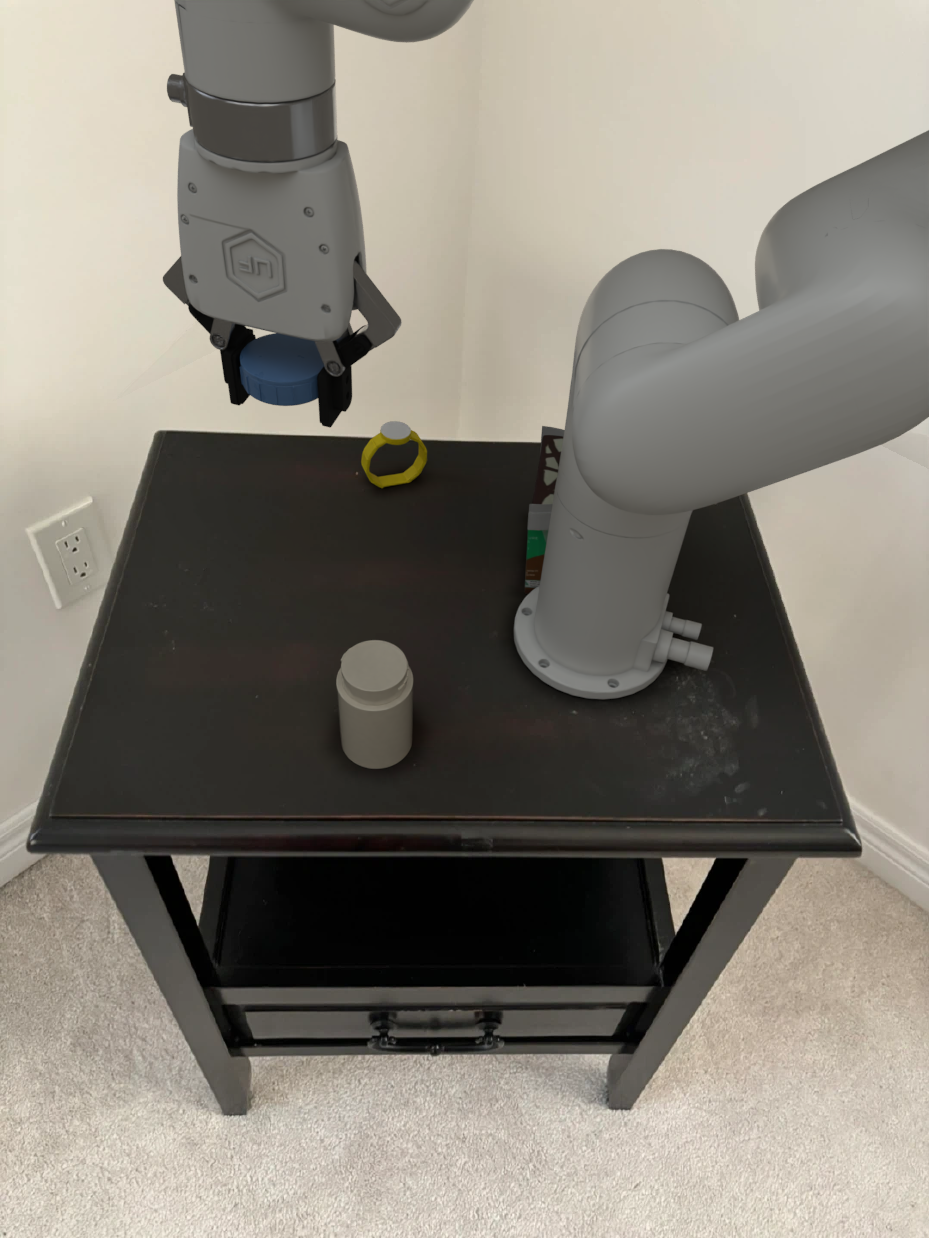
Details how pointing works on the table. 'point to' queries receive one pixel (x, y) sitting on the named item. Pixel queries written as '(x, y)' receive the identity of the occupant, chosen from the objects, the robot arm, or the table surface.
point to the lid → (281, 369)
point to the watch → (395, 436)
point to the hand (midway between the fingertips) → (289, 402)
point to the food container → (542, 504)
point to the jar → (375, 704)
